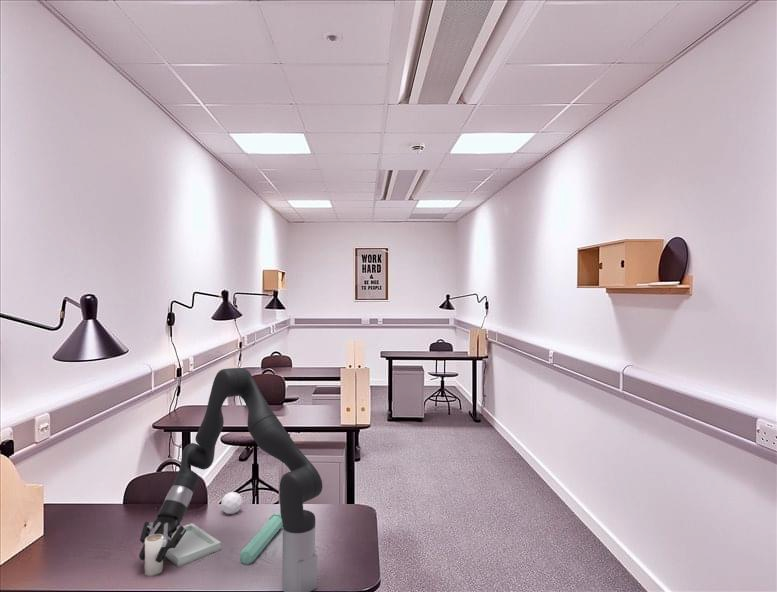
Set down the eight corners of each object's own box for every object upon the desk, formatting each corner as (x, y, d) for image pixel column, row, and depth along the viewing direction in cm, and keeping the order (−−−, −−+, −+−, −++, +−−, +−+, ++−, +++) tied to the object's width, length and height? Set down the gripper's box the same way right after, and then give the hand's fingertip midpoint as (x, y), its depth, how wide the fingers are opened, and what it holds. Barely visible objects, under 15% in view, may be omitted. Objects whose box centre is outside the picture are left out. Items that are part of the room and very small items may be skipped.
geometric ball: (225, 521, 188) (213, 504, 187) (239, 506, 194) (227, 490, 194) (236, 516, 183) (223, 499, 183) (250, 501, 190) (237, 484, 190)
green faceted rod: (249, 546, 151) (281, 510, 176) (233, 552, 152) (267, 515, 177) (256, 565, 151) (287, 526, 176) (240, 570, 152) (272, 531, 177)
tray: (220, 550, 161) (220, 542, 161) (178, 566, 150) (178, 558, 150) (192, 530, 174) (192, 523, 174) (151, 544, 164) (151, 536, 164)
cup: (165, 571, 148) (166, 537, 148) (148, 577, 144) (148, 543, 144) (158, 564, 151) (159, 532, 152) (141, 571, 148) (142, 537, 148)
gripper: (151, 496, 157) (122, 553, 145) (190, 500, 154) (165, 559, 142) (162, 506, 162) (135, 562, 150) (200, 510, 159) (176, 568, 147)
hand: (149, 560), depth 146 cm, fingers closed on cup, 5 cm apart
